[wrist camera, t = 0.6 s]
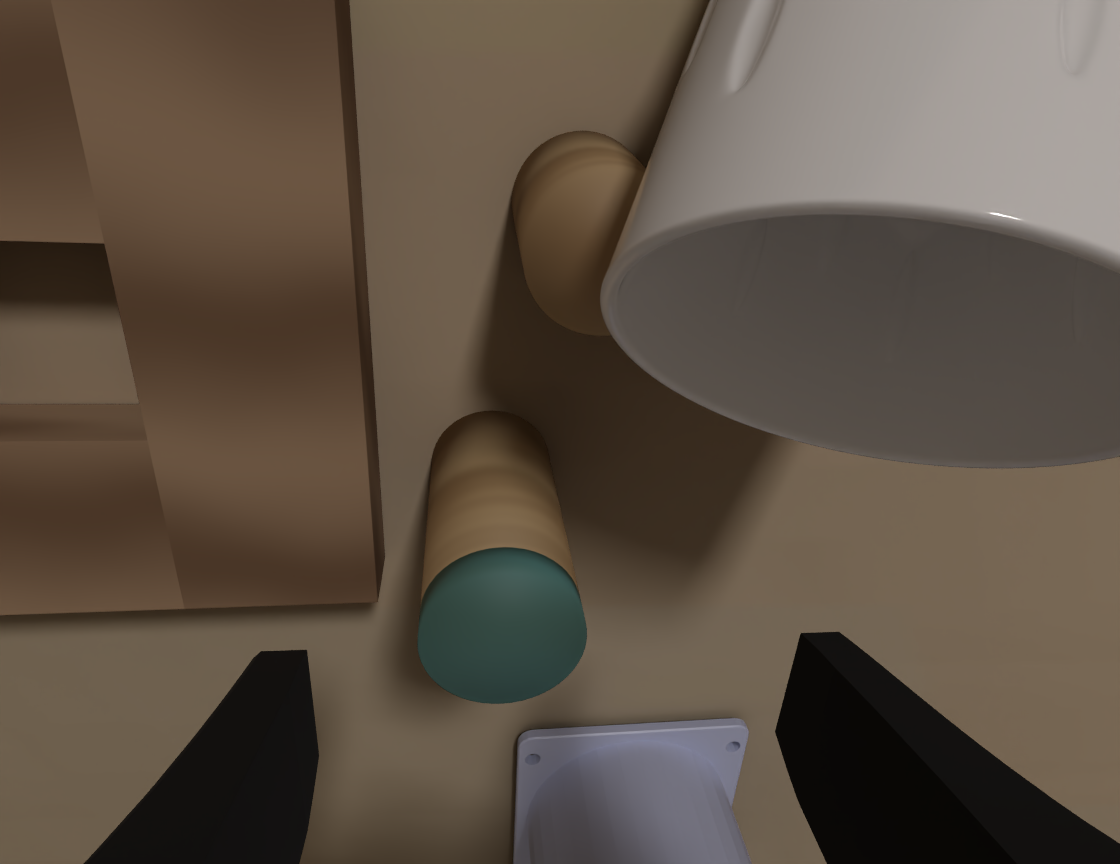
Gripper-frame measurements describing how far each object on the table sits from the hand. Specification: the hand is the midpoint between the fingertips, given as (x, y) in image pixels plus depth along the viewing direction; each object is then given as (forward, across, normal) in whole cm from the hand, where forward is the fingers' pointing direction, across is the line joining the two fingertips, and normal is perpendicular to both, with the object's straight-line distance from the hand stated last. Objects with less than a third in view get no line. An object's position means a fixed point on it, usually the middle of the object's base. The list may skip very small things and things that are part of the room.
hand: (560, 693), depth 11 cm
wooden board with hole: (+10, +11, -2) cm, 15 cm away
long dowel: (+10, +1, +2) cm, 10 cm away
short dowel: (+10, -1, -6) cm, 11 cm away
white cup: (+7, -8, -12) cm, 16 cm away
